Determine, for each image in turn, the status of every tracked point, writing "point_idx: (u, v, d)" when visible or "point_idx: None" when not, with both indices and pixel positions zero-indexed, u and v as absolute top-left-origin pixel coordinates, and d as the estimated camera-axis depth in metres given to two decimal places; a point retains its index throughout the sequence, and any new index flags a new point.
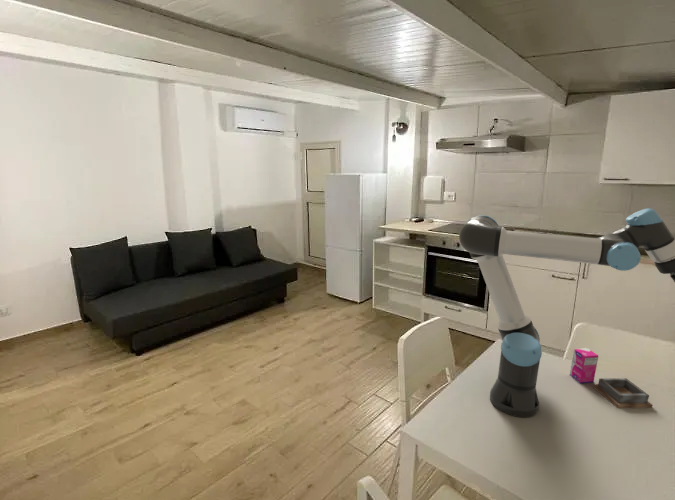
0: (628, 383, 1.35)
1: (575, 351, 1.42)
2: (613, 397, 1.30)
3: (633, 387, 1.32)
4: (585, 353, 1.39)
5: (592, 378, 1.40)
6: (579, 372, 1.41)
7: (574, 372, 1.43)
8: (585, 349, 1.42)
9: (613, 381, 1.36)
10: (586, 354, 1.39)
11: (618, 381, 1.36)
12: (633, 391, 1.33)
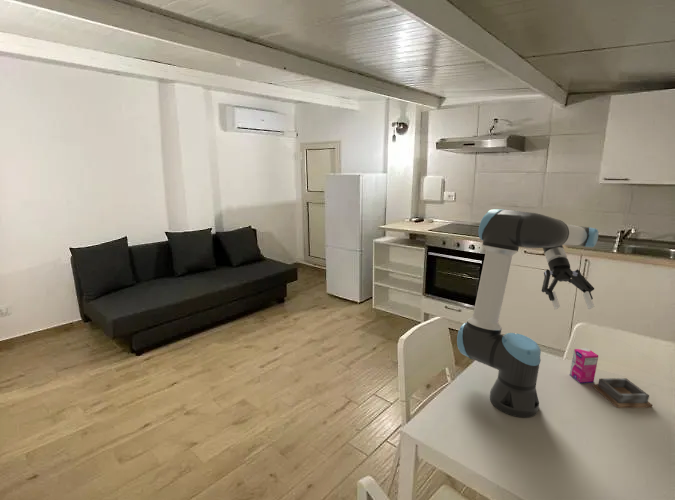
0: (628, 383, 1.35)
1: (575, 351, 1.42)
2: (613, 397, 1.30)
3: (633, 387, 1.32)
4: (585, 353, 1.39)
5: (592, 378, 1.40)
6: (579, 372, 1.41)
7: (574, 372, 1.43)
8: (585, 349, 1.42)
9: (613, 381, 1.36)
10: (586, 354, 1.39)
11: (618, 381, 1.36)
12: (633, 391, 1.33)
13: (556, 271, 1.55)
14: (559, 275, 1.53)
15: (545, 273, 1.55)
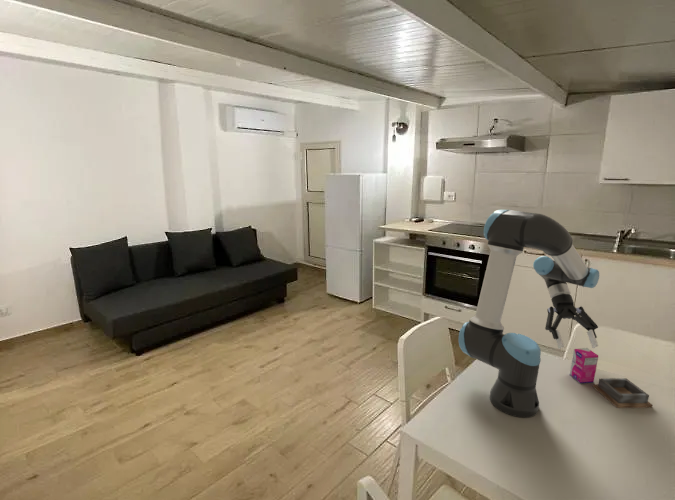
0: (628, 383, 1.35)
1: (575, 351, 1.42)
2: (613, 397, 1.30)
3: (633, 387, 1.32)
4: (585, 353, 1.39)
5: (592, 378, 1.40)
6: (579, 372, 1.41)
7: (574, 372, 1.43)
8: (585, 349, 1.42)
9: (613, 381, 1.36)
10: (586, 354, 1.39)
11: (618, 381, 1.36)
12: (633, 391, 1.33)
13: (560, 308, 1.53)
14: (563, 313, 1.52)
15: (549, 310, 1.54)
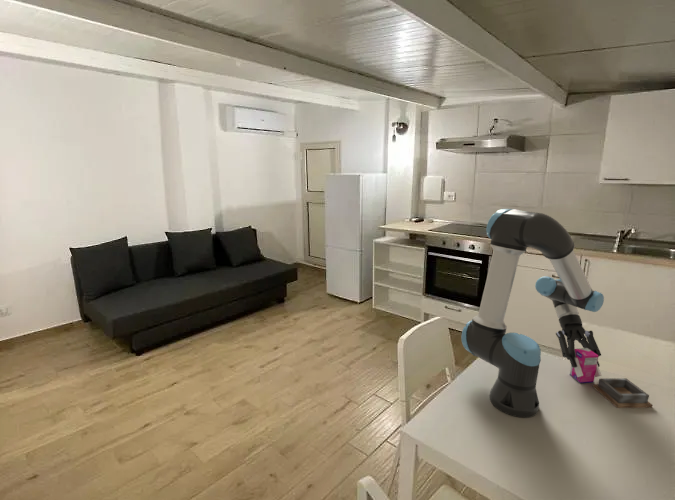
0: (628, 383, 1.35)
1: (575, 351, 1.42)
2: (613, 397, 1.30)
3: (633, 387, 1.32)
4: (585, 353, 1.39)
5: (592, 378, 1.40)
6: None
7: (574, 372, 1.43)
8: (585, 349, 1.42)
9: (613, 381, 1.36)
10: (586, 354, 1.39)
11: (618, 381, 1.36)
12: (633, 391, 1.33)
13: (567, 329, 1.47)
14: (573, 335, 1.45)
15: (558, 335, 1.47)
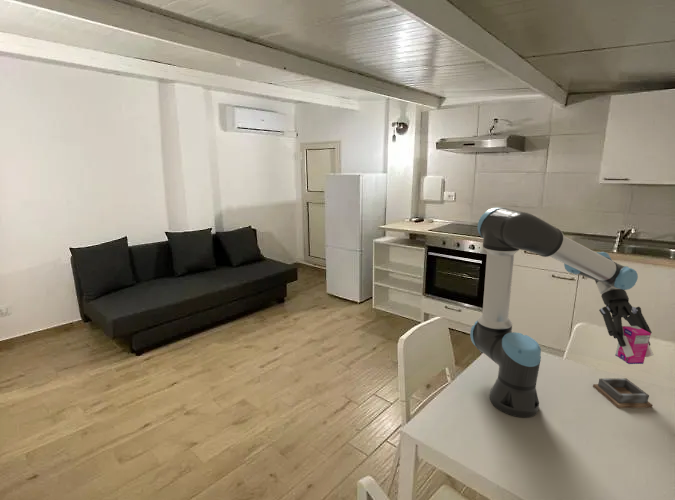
0: (628, 383, 1.35)
1: (623, 328, 1.28)
2: (613, 397, 1.30)
3: (633, 387, 1.32)
4: (635, 331, 1.25)
5: (642, 359, 1.26)
6: None
7: (622, 352, 1.29)
8: (635, 327, 1.28)
9: (613, 381, 1.36)
10: (637, 331, 1.25)
11: (618, 381, 1.36)
12: (633, 391, 1.33)
13: (613, 305, 1.33)
14: (619, 311, 1.31)
15: (602, 311, 1.33)
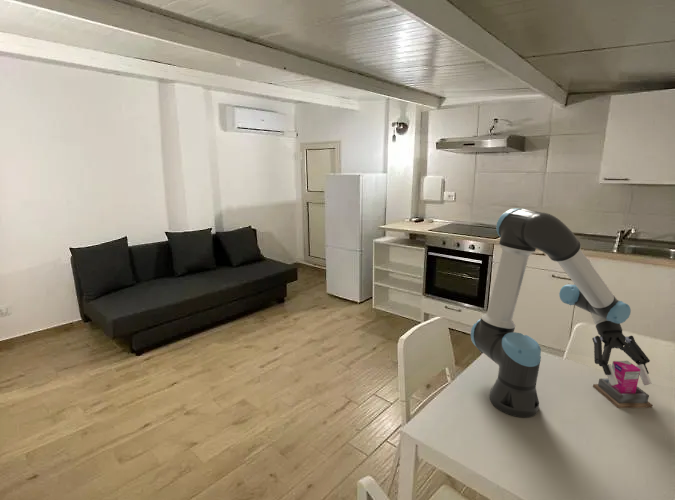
0: None
1: (614, 364, 1.32)
2: (613, 397, 1.30)
3: None
4: (625, 367, 1.29)
5: None
6: (618, 386, 1.30)
7: (613, 386, 1.32)
8: (625, 362, 1.32)
9: None
10: (626, 367, 1.28)
11: None
12: None
13: (607, 336, 1.36)
14: (611, 342, 1.34)
15: (594, 340, 1.36)
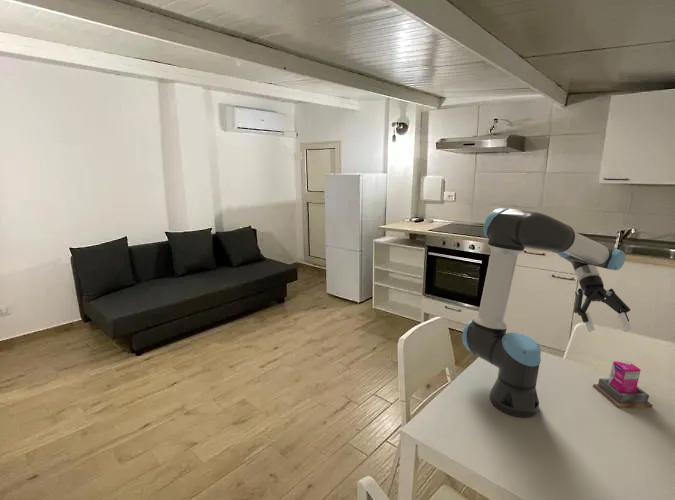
0: None
1: (614, 364, 1.32)
2: (613, 397, 1.30)
3: None
4: (625, 367, 1.29)
5: None
6: (618, 386, 1.30)
7: (613, 386, 1.32)
8: (625, 362, 1.32)
9: None
10: (626, 367, 1.28)
11: None
12: None
13: (589, 290, 1.45)
14: (592, 295, 1.44)
15: (577, 292, 1.46)
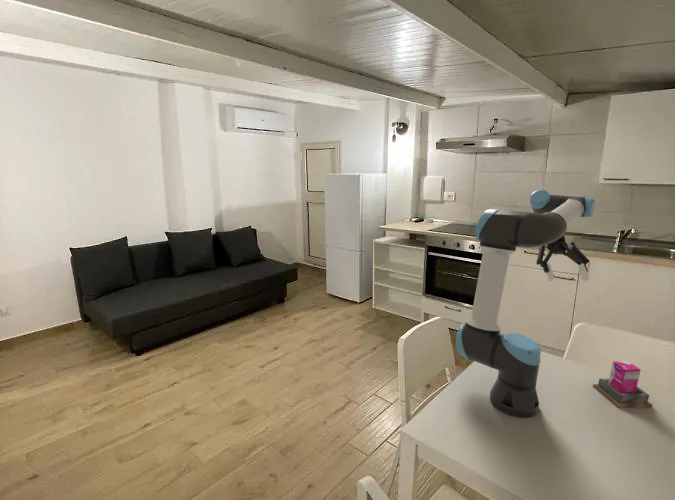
0: None
1: (614, 364, 1.32)
2: (613, 397, 1.30)
3: None
4: (625, 367, 1.29)
5: None
6: (618, 386, 1.30)
7: (613, 386, 1.32)
8: (625, 362, 1.32)
9: None
10: (626, 367, 1.28)
11: None
12: None
13: (551, 244, 1.53)
14: (554, 247, 1.51)
15: (540, 246, 1.54)
